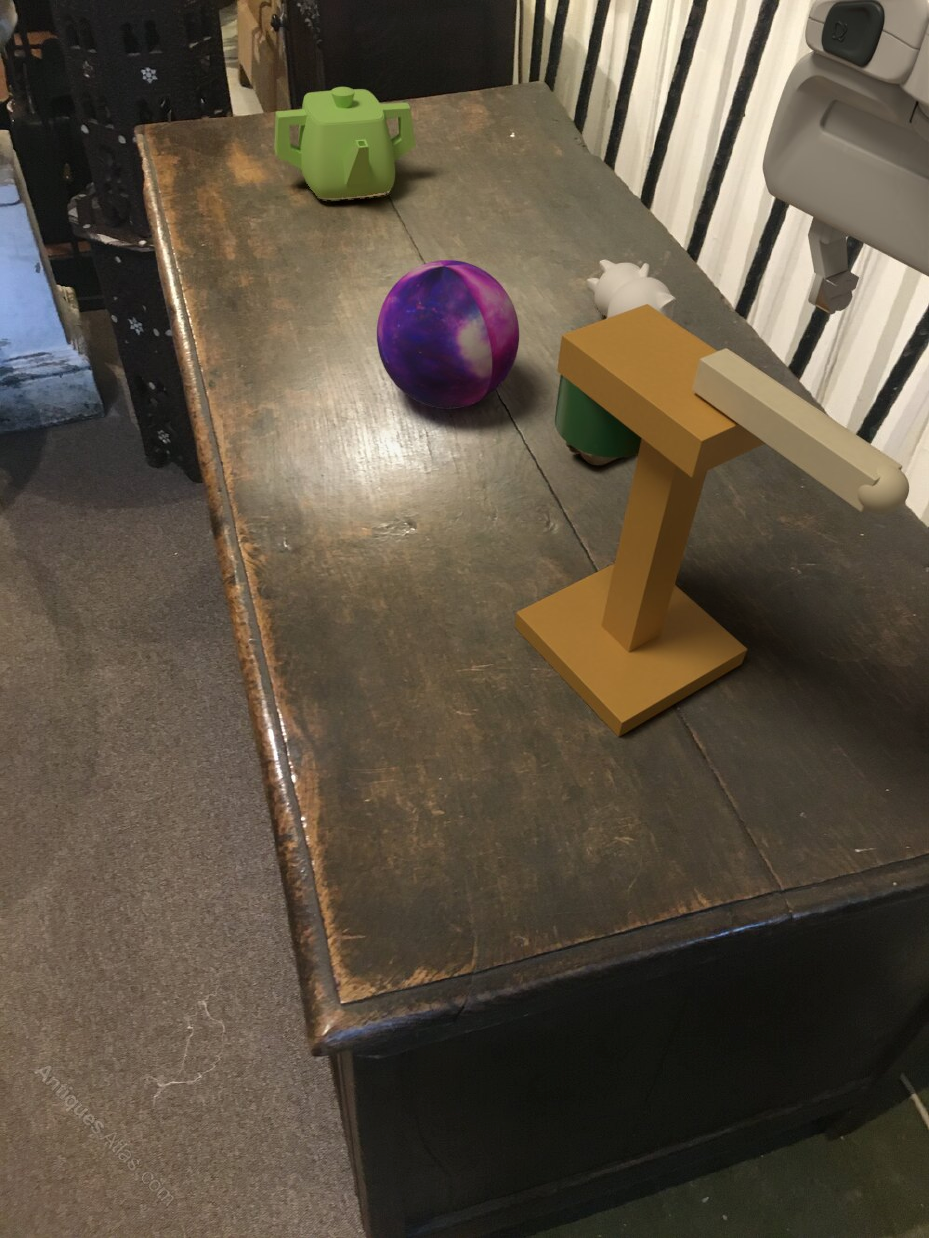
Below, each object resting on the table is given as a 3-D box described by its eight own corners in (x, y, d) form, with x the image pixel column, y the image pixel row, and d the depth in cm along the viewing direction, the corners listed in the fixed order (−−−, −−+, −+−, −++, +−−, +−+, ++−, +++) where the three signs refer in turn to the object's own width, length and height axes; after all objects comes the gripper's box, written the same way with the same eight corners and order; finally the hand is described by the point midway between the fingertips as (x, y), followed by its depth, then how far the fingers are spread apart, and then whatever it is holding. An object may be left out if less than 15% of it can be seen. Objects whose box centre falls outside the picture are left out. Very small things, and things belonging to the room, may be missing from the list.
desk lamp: (742, 664, 83) (845, 401, 63) (618, 737, 78) (689, 475, 58) (606, 541, 93) (659, 280, 73) (487, 599, 87) (509, 333, 67)
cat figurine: (609, 234, 115) (656, 281, 107) (667, 270, 121) (716, 316, 113) (566, 298, 119) (609, 347, 111) (625, 329, 125) (669, 378, 117)
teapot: (433, 214, 137) (435, 117, 127) (291, 228, 132) (282, 128, 123) (402, 159, 148) (401, 66, 139) (271, 170, 144) (261, 75, 134)
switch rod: (908, 513, 56) (927, 475, 54) (876, 530, 55) (895, 492, 53) (719, 381, 64) (729, 343, 62) (688, 394, 63) (697, 356, 61)
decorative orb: (452, 343, 115) (457, 220, 104) (541, 402, 108) (556, 276, 97) (351, 389, 108) (344, 262, 97) (438, 455, 101) (441, 326, 90)
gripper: (1324, 120, 35) (1121, 432, 45) (875, -26, 46) (793, 250, 56) (1237, 157, 33) (1043, 478, 43) (783, -8, 44) (715, 279, 54)
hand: (898, 347), depth 50 cm, fingers open, 8 cm apart
